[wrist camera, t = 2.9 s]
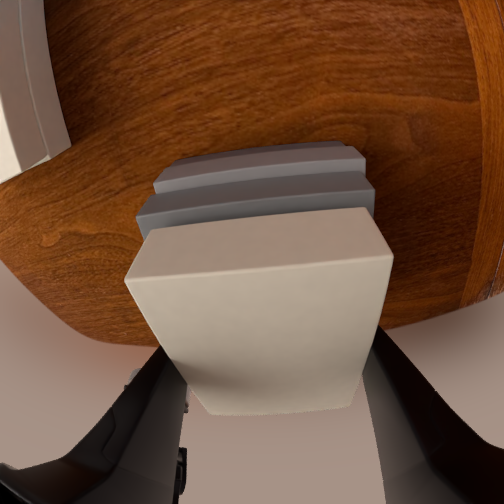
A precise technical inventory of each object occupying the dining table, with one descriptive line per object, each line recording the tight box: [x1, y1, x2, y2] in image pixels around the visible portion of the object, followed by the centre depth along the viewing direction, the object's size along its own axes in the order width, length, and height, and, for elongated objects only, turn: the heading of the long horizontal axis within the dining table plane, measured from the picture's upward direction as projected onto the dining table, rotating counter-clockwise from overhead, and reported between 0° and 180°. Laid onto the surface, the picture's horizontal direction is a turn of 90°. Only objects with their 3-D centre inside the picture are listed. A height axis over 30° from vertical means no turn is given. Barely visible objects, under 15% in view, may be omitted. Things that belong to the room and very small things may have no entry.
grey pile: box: [136, 141, 375, 241], centre depth 12 cm, size 9×7×4 cm
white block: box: [125, 207, 394, 415], centre depth 9 cm, size 8×6×2 cm
